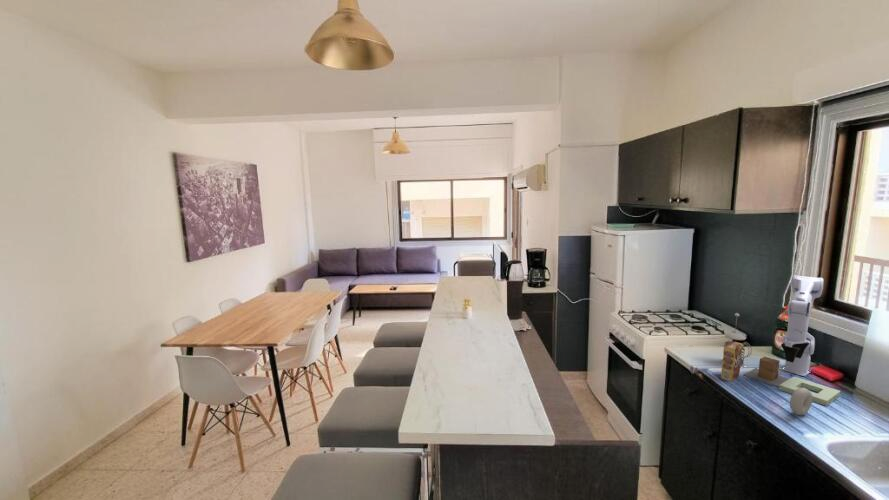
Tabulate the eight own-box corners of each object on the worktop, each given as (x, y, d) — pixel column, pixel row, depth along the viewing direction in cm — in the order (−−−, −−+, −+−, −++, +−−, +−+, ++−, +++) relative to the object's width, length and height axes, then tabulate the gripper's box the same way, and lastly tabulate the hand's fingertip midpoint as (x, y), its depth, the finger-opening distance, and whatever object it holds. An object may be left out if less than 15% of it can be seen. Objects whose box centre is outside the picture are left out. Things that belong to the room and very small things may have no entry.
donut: (798, 420, 128) (801, 393, 126) (786, 414, 131) (789, 389, 129) (812, 412, 131) (815, 387, 130) (800, 408, 135) (803, 383, 133)
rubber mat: (755, 368, 166) (756, 367, 166) (790, 379, 155) (790, 378, 155) (743, 375, 160) (743, 374, 160) (777, 387, 149) (778, 386, 149)
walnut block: (763, 373, 160) (764, 356, 159) (777, 377, 156) (779, 360, 155) (758, 376, 158) (759, 358, 157) (772, 380, 154) (774, 363, 153)
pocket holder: (793, 380, 154) (793, 376, 154) (839, 395, 142) (840, 390, 142) (778, 389, 148) (779, 384, 147) (826, 405, 135) (827, 401, 135)
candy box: (732, 382, 154) (735, 348, 152) (720, 378, 158) (723, 345, 156) (740, 376, 159) (743, 343, 157) (728, 372, 163) (731, 340, 161)
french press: (728, 357, 177) (732, 309, 174) (755, 367, 167) (760, 316, 163) (715, 361, 174) (719, 311, 171) (741, 371, 163) (746, 319, 160)
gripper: (791, 323, 157) (788, 352, 159) (777, 329, 150) (773, 359, 152) (813, 327, 151) (810, 358, 152) (799, 334, 144) (796, 366, 146)
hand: (793, 359), depth 152 cm, fingers open, 7 cm apart
